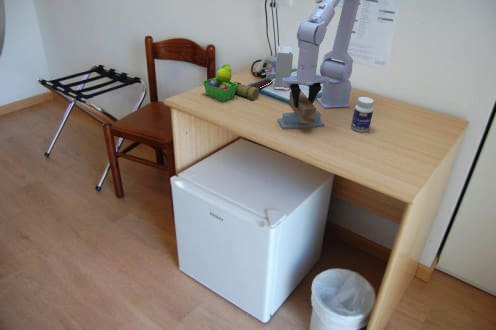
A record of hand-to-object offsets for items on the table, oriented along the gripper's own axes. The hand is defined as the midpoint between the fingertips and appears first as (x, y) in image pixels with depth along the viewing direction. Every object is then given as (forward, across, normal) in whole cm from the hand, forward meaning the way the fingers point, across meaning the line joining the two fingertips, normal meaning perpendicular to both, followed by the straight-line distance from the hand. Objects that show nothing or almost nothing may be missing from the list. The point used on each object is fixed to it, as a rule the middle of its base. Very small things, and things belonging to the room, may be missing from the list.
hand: (302, 105), depth 128 cm
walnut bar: (+3, 0, +1) cm, 3 cm away
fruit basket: (+6, -22, +26) cm, 35 cm away
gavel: (+7, -7, +30) cm, 32 cm away
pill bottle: (+6, +18, -6) cm, 20 cm away
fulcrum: (+6, 0, 0) cm, 6 cm away
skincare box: (+6, +3, +32) cm, 33 cm away
